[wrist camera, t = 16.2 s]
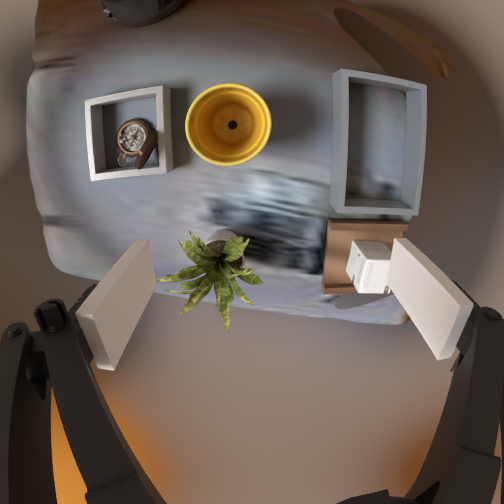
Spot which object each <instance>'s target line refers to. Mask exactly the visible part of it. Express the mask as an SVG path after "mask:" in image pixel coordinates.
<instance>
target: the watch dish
mask: <svg viewBox="0 0 504 504" xmlns="http://www.w3.org/2000/svg"><path fill="white" fill-rule="evenodd" d="M155 96H156V110H157V132H158V151H159V164H153V165H144V166H143V167H142V168H141V169H140V170H138V169H136V168H134V166H133V167H124V168H115V169H106V159H105V148H104V134H103V116H102V106H105V105H109V104H114V103H119V102H125V101H130V100H136V99H142V98H148V97H155ZM85 118H86V135H87V148H88V159H89V168H90V177H91V181H94V180H102V179H111V178H120V177H129V176H140V175H151V174H164V173H168V172H170V171H171V170H173V169H174V166H173V150H172V130H171V102H170V88H168V87H165V86H163V85H162V86H156V87H149V88H143V89H137V90H132V91H126V92H121V93H116V94H112V95H107V96H103V97H99V98H94V99H90V100H87V101H85Z"/></svg>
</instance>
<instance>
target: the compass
mask: <svg viewBox="0 0 504 504" xmlns="http://www.w3.org/2000/svg"><path fill="white" fill-rule="evenodd" d="M157 140H158V132H157V131H155V130H153V131H151V128H150V126H149V125H148V124H147V123H146V122H145V121H143V120H141V119H131V120H128V121H126V122H125V123H123V124H122V125H121V127H120V128H119V129H118V133H117V139H116V141H117V145H118V148H119V149H120V151H121V152H122V153H123V154H124V155H121V156H123V158H124V159H126V157H127V156H131V157H135V156H137V157H136V160H135V163H134V168H136V169H138V170H140V169H141V168H142V167H143V166H144V165H145V163H146V162H147V160H148V159H149V157H150V155H151V153H152V151H153V150H154V147H155V145H156V143H157ZM121 156H120V157H121ZM120 157H119V158H120ZM118 162H119V159H118ZM127 163H128V157H127ZM127 163H126V164H125V165H127ZM119 164H120V162H119ZM120 165H121V164H120ZM125 165H121V166H125Z"/></svg>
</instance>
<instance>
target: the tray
mask: <svg viewBox="0 0 504 504" xmlns="http://www.w3.org/2000/svg"><path fill="white" fill-rule="evenodd" d="M407 230H408V224H407V223H406V222H404V221H403V220H382V219H328V228H327V240H326V251H325V261H324V271H323V280H322V290H323V292H324V294H344V293H358V292H357V290H356V288H355V286H354V284H353V283H352V281H351V279H350V277H349V276H348V274H347V272H346V267H347V264H348V260H349V256H350V251H351V246H352V241H353V240H360V241H374V242H383V243H384V244H385V245H386V246H387V247H388V248H389V250H390V251H391V252H392V249H393V243H394V238H402V236H403V231H407ZM391 291H392V290H391Z"/></svg>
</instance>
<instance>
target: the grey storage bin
mask: <svg viewBox="0 0 504 504" xmlns="http://www.w3.org/2000/svg"><path fill="white" fill-rule="evenodd" d="M349 82H353V83H361V84H367V85H374V86H380V87H385V88H391V89H396V90H401V91H406V92H407V94H406V95H407V108H406V141H405V157H404V170H403V181H402V190H401V199H400V201H397V200H377V199H353V198H345V191H346V176H347V156H348V124H349ZM332 95H333V115H332V160H331V182H330V200H329V204H330V205H331V206H332V207H333V209H334V210H335V211H336V212H337V213H362V214H394V215H418V211H419V204H420V197H421V189H422V181H423V171H424V159H425V146H426V125H427V85H424V84H420V83H416V82H412V81H408V80H404V79H399V78H394V77H390V76H384V75H379V74H374V73H368V72H361V71H355V70H347V69H340V70H338V71H337V72H335V73H333V74H332Z"/></svg>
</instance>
